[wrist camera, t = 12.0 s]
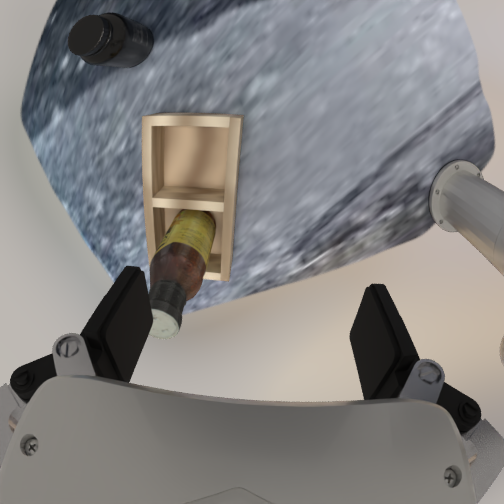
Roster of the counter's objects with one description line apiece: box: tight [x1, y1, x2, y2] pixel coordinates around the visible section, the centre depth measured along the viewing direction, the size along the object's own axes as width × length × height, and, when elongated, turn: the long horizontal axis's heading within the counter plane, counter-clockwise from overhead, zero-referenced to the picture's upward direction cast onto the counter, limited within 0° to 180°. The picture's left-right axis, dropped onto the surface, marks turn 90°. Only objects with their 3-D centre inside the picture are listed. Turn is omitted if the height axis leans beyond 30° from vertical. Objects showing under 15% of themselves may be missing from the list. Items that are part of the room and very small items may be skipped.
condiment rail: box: [142, 113, 244, 281], centre depth 37 cm, size 11×22×6 cm, turn 175°
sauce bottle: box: [148, 209, 216, 339], centre depth 32 cm, size 6×6×20 cm
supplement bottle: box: [68, 13, 153, 68], centre depth 23 cm, size 7×7×12 cm
